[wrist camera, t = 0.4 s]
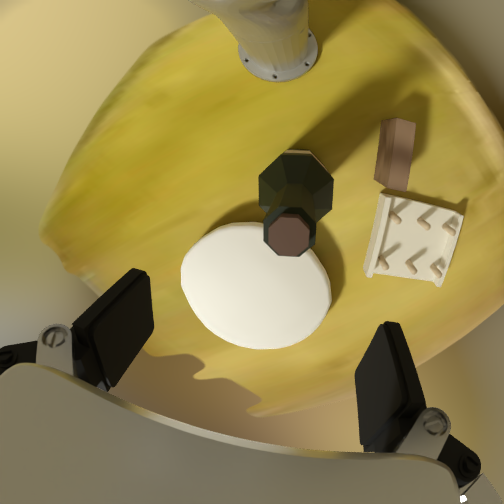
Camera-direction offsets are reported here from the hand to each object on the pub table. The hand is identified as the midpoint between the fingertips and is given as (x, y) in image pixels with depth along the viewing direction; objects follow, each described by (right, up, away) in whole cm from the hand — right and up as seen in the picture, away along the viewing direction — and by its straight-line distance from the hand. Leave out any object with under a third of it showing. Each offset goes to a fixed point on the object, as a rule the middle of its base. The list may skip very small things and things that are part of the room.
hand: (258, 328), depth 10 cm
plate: (+1, -3, +42) cm, 43 cm away
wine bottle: (+7, +16, +32) cm, 37 cm away
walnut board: (+21, +19, +28) cm, 40 cm away
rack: (+28, +5, +33) cm, 43 cm away
